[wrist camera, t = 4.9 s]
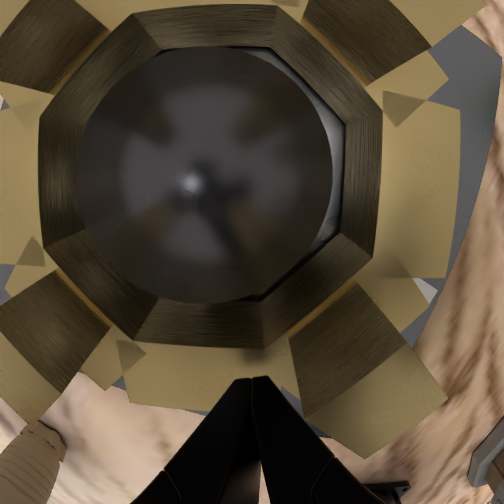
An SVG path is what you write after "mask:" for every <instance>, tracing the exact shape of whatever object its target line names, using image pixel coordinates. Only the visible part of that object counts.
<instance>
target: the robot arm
mask: <svg viewBox="0 0 504 504" xmlns="http://www.w3.org/2000/svg"><path fill="white" fill-rule="evenodd" d="M261 465H262V469H263V473H264V478H265V482H266V486H267V491H268V495H269V499H270V503H271V504H402V503H401V501H400V497H401V496H402V495H404V494H405V493H406V492H407V491H408V490H409V489H410V488H411V486H410V483H409V482H406V483H395V484H381V485H363V484H362V483H360V482H359V481H358V480H357V479H356V478H355V477H354V476H353V475H352V474H351V472H350V471H349V470H348V469H347V468H346V467H345V466H344V465H343V464H342V463H341V462H340V461H339V459H338V458H336V457H335V455H334V454H333V453H332V452H331V451H330V450H329V448H328V447H327V446H326V445H325V444H324V443H323V441H322V440H321V439H320V438H319V437H318V436H317V434H316V433H315V432H314V431H313V430H312V429H311V427H310V426H309V425H308V424H307V423H306V421H305V420H304V419H303V418H302V417H301V415H300V414H299V413H298V412H297V411H296V409H295V408H294V407H293V406H292V404H291V403H290V402H289V401H288V400H287V398H286V397H285V396H284V395H283V393H282V392H281V391H280V390H279V388H278V387H277V386H276V385H275V383H274V382H273V381H272V380H271V378H270V377H269V376H267V375H264V376H257V377H253V378H252V379H251V378H249V377H248V378H239V379H235V380H234V381H233V382H232V383H231V385H230V386H229V387H228V389H227V390H226V391H225V392H224V394H223V395H222V396H221V398H220V399H219V400H218V402H217V403H216V404H215V405H214V407H213V408H212V409H211V411H210V412H209V413H208V414H207V416H206V417H205V418H204V419H203V421H202V422H201V423H200V425H199V426H198V427H197V428H196V430H195V431H194V432H193V433H192V434H191V436H190V437H189V438H188V439H187V441H186V442H185V443H184V444H183V446H182V447H181V448H180V449H179V450H178V452H177V453H176V454H175V455H174V456H173V458H172V459H171V460H170V461H169V462H168V464H167V465H166V466H165V467H164V471H165V472H164V471H161V472H160V473H159V474H158V475H157V476H156V477H155V479H154V480H153V481H152V482H151V483H150V484H149V485H148V486H147V487H146V488H145V489H144V490H143V492H142V493H141V494H140V495H139V496H138V497H137V498H136V499H135V500H133V501H132V502H131V503H130V504H258V503H259V489H260V475H261Z"/></svg>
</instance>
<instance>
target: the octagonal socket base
mask: <svg viewBox="0 0 504 504" xmlns="http://www.w3.org/2000/svg"><path fill="white" fill-rule="evenodd" d="M486 5H487V4H486V3H485V1H484V0H0V81H1V82H0V94H1V95H2V97H3V98H4V100H5V101H6V102H7V104H8V105H9V107H10V108H8V109H5V110H2V111H0V264H12V265H16V266H15V268H14V270H13V272H12V274H11V276H10V278H9V280H8V282H7V284H6V286H5V290H6V291H7V292H8V293H9V295H10V296H11V297H12V298H11V299H10V300H8V301H7V302H5V303H4V304H2V305H1V306H0V397H1V398H2V399H3V400H4V401H5V402H6V403H7V404H8V405H9V406H10V407H11V408H12V409H13V410H14V411H15V412H16V413H17V414H18V415H19V416H21V417H22V418H23V419H24V420H25V421H26V422H27V423H28V424H29V425H30V426H33V425H34V424H35V423H36V422H37V421H38V420H39V418H40V417H41V416H42V415H43V414H44V413H45V412H46V411H47V410H48V408H49V407H50V406H51V405H52V404H53V403H54V402H55V401H56V400H57V399H58V397H59V396H60V395H61V394H62V393H63V391H64V390H65V389H66V387H67V386H68V384H69V383H70V382H71V380H72V379H73V377H74V376H75V375H76V373H77V372H78V371H79V369H80V370H82V371H83V372H84V373H85V374H86V375H87V376H88V377H89V378H90V379H92V380H93V381H94V382H95V383H96V384H97V385H99V386H100V387H101V388H102V389H103V390H106V389H108V388H109V387H110V386H111V385H112V384H113V383H114V382H115V381H117V380H118V379H119V378H120V377H121V376H122V375H123V376H124V381H125V385H126V389H127V393H128V397H129V401H130V403H136V404H143V405H150V406H158V407H166V408H175V409H185V410H197V411H211V409H212V408H213V407H214V405H215V404H216V403H217V402H218V400H219V399H220V398H221V396H222V395H223V394H224V392H225V391H226V390H227V389H228V387H229V386H230V385H231V383H232V382H233V381H234V380H235V379H239V378H248V377H249V378H251V379H252V378H253V377H257V376H264V375H267V376H269V377H270V378H271V380H272V381H273V382H274V383H275V385H276V386H277V387H278V388H279V390H280V391H281V386H283V387H284V388H285V389H286V390H288V391H289V392H290V393H292V394H293V395H294V396H295V397H297V398H298V399H299V400H301V404H302V409H303V414H304V419H306V420H307V421H308V422H310V423H311V424H313V425H314V426H315V427H317V428H318V429H320V430H321V431H323V432H324V433H326V434H327V435H329V436H330V437H331V438H333V439H334V440H336V441H337V442H339V443H340V444H342V445H344V446H345V447H347V448H348V449H350V450H351V451H353V452H354V453H356V454H357V455H359V456H361V457H362V458H364V459H365V458H367V457H369V456H370V455H372V454H373V453H375V452H377V451H378V450H380V449H381V448H383V447H384V446H386V445H387V444H389V443H390V442H392V441H393V440H395V439H396V438H398V437H399V436H401V435H402V434H404V433H405V432H406V431H408V430H409V429H411V428H412V427H413V426H415V425H416V424H417V423H419V422H420V421H421V420H423V419H424V418H425V417H427V416H428V415H429V414H430V413H432V412H433V411H434V410H435V409H437V408H438V407H439V406H440V405H442V404H443V403H444V402H445V401H446V400H448V397H447V396H446V394H445V393H444V392H443V390H442V389H441V387H440V386H439V385H438V383H437V382H436V380H435V379H434V378H433V376H432V375H431V374H430V372H429V371H428V369H427V368H426V367H425V365H424V364H423V363H422V361H421V360H420V359H419V357H418V356H417V355H416V353H415V352H414V351H413V349H412V348H411V347H410V345H409V344H408V343H407V341H406V340H405V339H404V338H403V336H402V335H401V334H400V333H401V332H402V331H403V330H404V329H405V328H406V327H407V326H408V325H410V324H411V323H412V322H413V321H414V320H415V319H416V318H417V317H418V316H419V315H420V314H422V313H423V312H424V311H425V310H426V309H427V308H428V307H429V306H430V305H429V303H428V301H427V300H426V298H425V297H424V295H423V294H422V292H421V291H420V289H419V288H418V286H417V285H416V283H415V282H414V280H413V279H412V278H445V277H446V272H447V267H448V262H449V256H450V250H451V244H452V238H453V231H454V224H455V216H456V207H457V197H458V185H459V169H460V110H458V109H455V108H451V107H448V106H445V105H441V104H438V103H434V102H430V101H427V99H428V98H429V97H430V96H431V95H432V94H434V93H435V92H436V91H437V90H438V89H439V88H440V87H441V86H442V85H443V84H444V83H445V82H447V81H448V80H449V78H448V77H447V76H446V74H445V73H444V72H443V70H442V69H441V68H440V66H439V65H438V64H437V62H436V61H435V60H434V59H433V57H432V56H431V55H430V54H429V52H428V51H427V50H428V49H430V48H431V47H433V46H434V45H435V44H437V43H438V42H439V41H440V40H442V39H443V38H444V37H446V36H447V35H448V34H449V33H451V32H452V31H453V30H455V29H456V28H457V27H458V26H460V25H461V24H462V23H464V22H465V21H466V20H468V19H469V18H470V17H471V16H473V15H474V14H475V13H477V12H478V11H479V10H481V9H482V8H483V7H485V6H486ZM200 46H262V47H271V48H272V49H273V50H274V51H275V52H276V53H277V54H278V55H279V56H280V57H282V58H283V59H284V60H285V61H286V62H287V63H288V64H289V65H290V66H291V67H292V68H293V69H294V70H295V71H296V72H297V73H298V74H299V75H300V76H301V77H302V78H303V79H304V80H305V81H306V82H307V83H308V84H309V85H310V86H311V87H312V88H313V89H314V90H315V91H316V92H317V93H318V94H319V95H320V96H321V97H322V98H323V100H324V101H325V102H326V103H327V104H328V105H329V106H330V107H331V108H332V109H333V110H334V112H335V113H336V114H337V115H338V116H339V117H340V118H341V119H342V121H343V122H344V123H345V124H346V148H345V172H344V189H343V204H342V217H341V229H340V233H339V234H338V235H337V236H335V237H334V238H333V239H332V240H331V241H330V242H329V243H328V244H327V245H326V246H324V247H323V248H322V249H321V250H320V251H319V252H318V253H317V254H315V255H314V256H313V257H312V258H311V259H310V260H309V261H308V262H306V263H305V264H304V265H303V266H302V267H301V268H300V269H298V270H297V271H296V272H295V273H294V274H293V275H292V276H290V277H289V278H288V279H287V280H286V281H285V282H284V283H282V284H281V285H280V286H279V287H278V288H277V289H275V290H274V291H273V292H272V293H271V294H270V295H268V296H267V297H266V298H265V299H264V300H263V301H261V302H252V301H227V302H221V303H212V304H192V303H184V302H177V301H173V300H169V299H166V298H160V297H159V296H157V295H154V294H152V293H150V292H147V291H145V290H144V289H142V288H140V287H138V286H136V285H135V284H133V283H132V282H130V281H129V280H128V279H126V278H125V277H123V276H122V275H121V274H120V273H119V272H118V271H117V270H115V269H114V268H113V267H112V266H111V265H110V264H109V263H108V261H107V260H106V259H105V258H104V257H103V255H102V254H101V253H100V252H99V250H98V249H97V247H96V245H95V244H94V242H93V241H92V239H91V237H90V235H89V233H88V231H87V229H86V226H85V224H84V221H83V218H82V215H81V212H80V209H79V204H78V198H77V193H76V161H77V155H78V150H79V145H80V142H81V139H82V136H83V133H84V130H85V127H86V125H87V123H88V121H89V119H90V117H91V115H92V113H93V111H94V110H95V108H96V107H97V105H98V103H99V102H100V100H101V99H102V98H103V97H104V95H105V94H106V93H107V92H108V91H109V89H110V88H111V87H112V86H113V85H114V84H115V83H116V82H118V81H119V80H120V79H121V78H122V77H123V76H124V75H125V74H127V73H128V72H130V71H131V70H132V69H134V68H135V67H137V66H138V65H140V64H142V63H144V62H146V61H148V60H149V59H151V58H153V57H154V56H155V55H156V54H157V53H158V52H160V51H161V50H162V49H173V48H186V47H200Z"/></svg>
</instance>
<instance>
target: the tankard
mask: <svg viewBox="0 0 504 504" xmlns="http://www.w3.org/2000/svg"><path fill="white" fill-rule="evenodd" d="M468 480H469V482H470V484H471V485H472V487H478V486H482V485H486V484H489V486H490V488H491V490H492V491H493V493H494V496H493V498H492V499H491V502H490V503H491V504H504V417H503V418H502V420H501V421H500V422H499V423H498V425H497V426H496V427H495V428H494V429H493V431H492V432H491V433H490V434H489V435H488V436H487V438H486V439H485V440H484V441H483V442H482V443H481V444H480V446H479V447H478V448H477V449H476V450H475V451H474V453H473V457H472V462H471V466H470V470H469V474H468Z"/></svg>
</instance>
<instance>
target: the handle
mask: <svg viewBox="0 0 504 504" xmlns="http://www.w3.org/2000/svg"><path fill="white" fill-rule="evenodd" d="M20 434H21V435H18V436H17V437H16V438H15V439H14V440H13V441H12V442H11V443H10V444H9V445H8V446H7V447H6V448H5V449H4V450H3V452H2V453H1V454H0V504H46V503H47V501H48V499H49V497H50V494H51V492H52V489H53V486H54V483H55V481H56V478H57V475H58V471H59V467H60V465H59V461H61V462H63V460H64V457H65V454H66V446H65V445H64V444H63V443H62V441H61V439H60V435H59V434H58V433H57V432H56V431H54V430H51V429H49V428H47V427H46V426H44V425H43V424H42V423H41V422H38V421H37V422H36V423H35V424H34V425H33V426H30V425H29V424H28V425H27V426H25V427H24V428H23V430H22V431H21V432H20Z"/></svg>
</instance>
